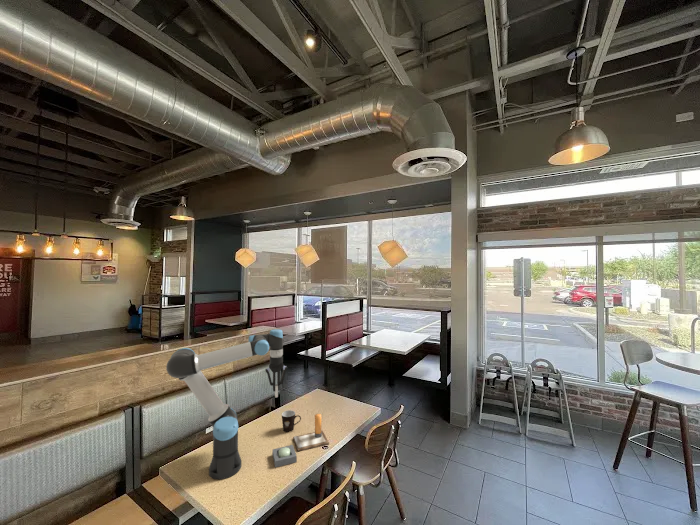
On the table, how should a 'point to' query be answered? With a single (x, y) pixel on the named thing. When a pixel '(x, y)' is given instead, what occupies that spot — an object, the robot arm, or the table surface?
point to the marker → (318, 426)
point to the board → (309, 441)
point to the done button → (284, 452)
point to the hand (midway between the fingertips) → (276, 396)
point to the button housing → (284, 460)
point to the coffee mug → (289, 420)
